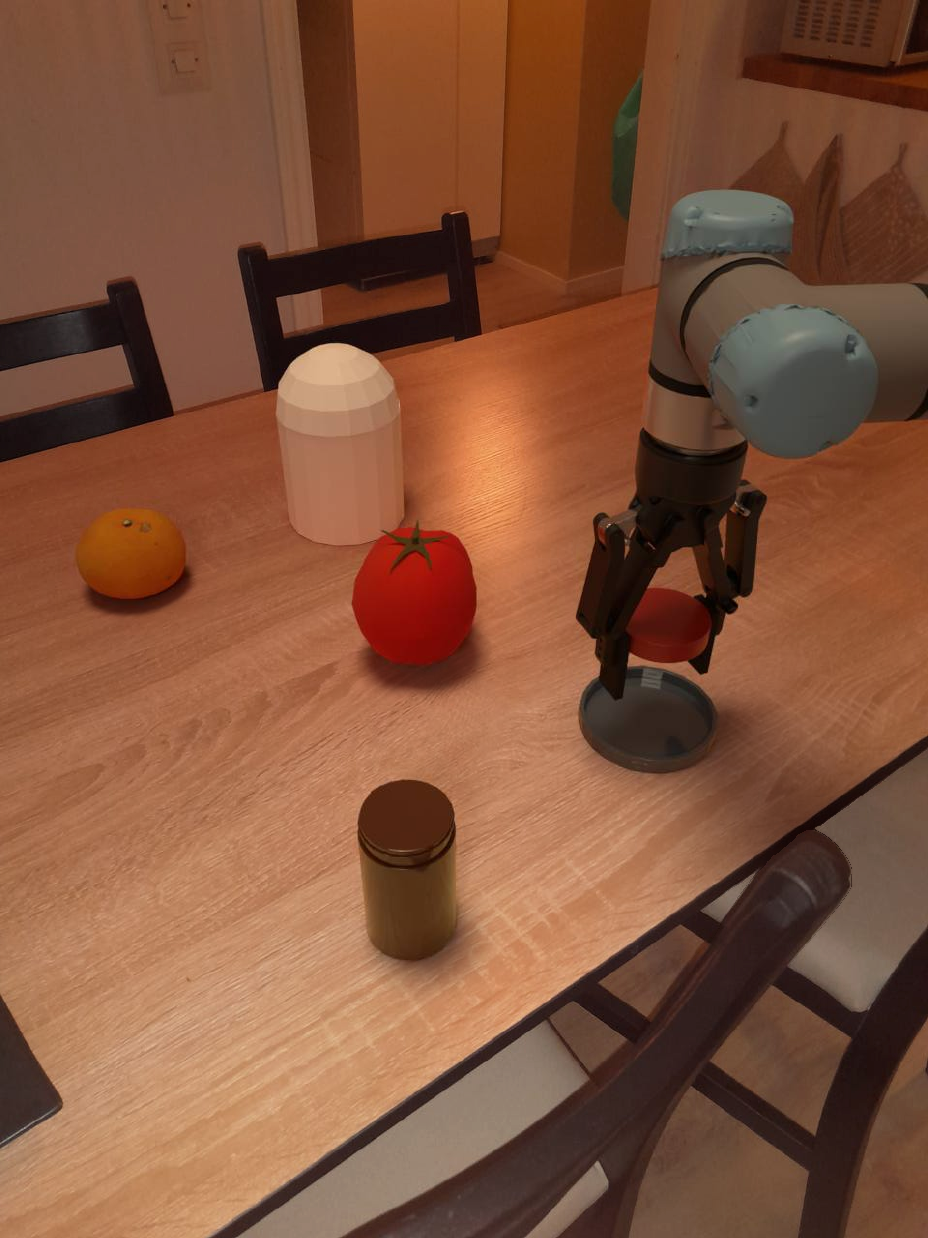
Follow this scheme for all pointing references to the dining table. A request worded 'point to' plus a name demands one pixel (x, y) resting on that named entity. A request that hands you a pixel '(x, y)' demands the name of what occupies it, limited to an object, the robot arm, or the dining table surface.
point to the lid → (668, 626)
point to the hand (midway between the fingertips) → (653, 676)
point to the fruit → (131, 553)
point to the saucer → (649, 721)
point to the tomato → (415, 595)
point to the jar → (408, 868)
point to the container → (341, 446)
